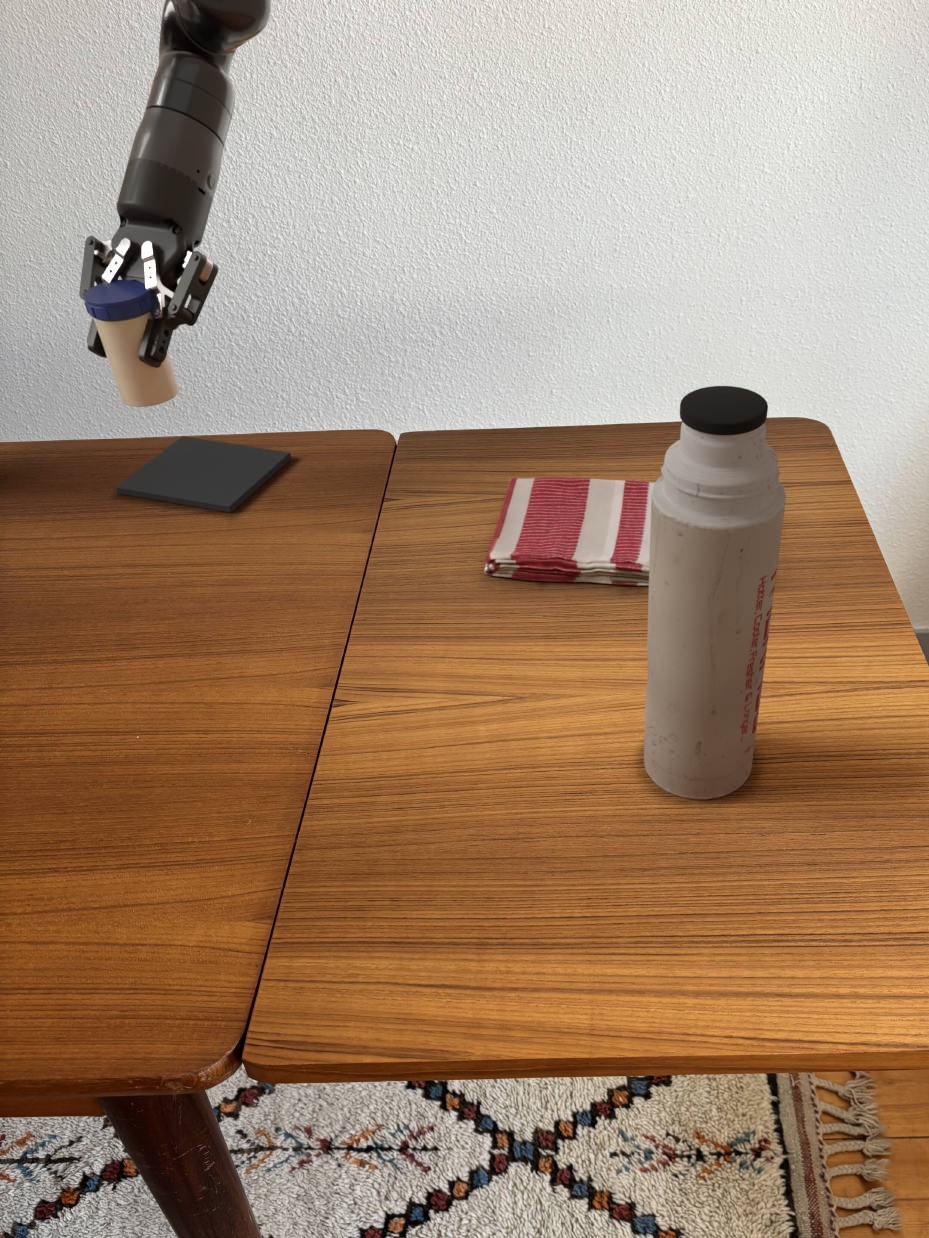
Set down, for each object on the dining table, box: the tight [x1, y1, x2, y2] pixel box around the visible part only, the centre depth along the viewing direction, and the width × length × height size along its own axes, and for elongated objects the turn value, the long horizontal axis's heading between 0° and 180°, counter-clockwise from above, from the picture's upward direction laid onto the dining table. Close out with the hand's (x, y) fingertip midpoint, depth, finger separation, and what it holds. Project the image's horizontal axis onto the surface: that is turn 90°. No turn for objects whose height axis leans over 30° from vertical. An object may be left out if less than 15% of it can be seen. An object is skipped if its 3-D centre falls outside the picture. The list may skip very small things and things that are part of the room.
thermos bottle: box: [643, 385, 787, 800], centre depth 68 cm, size 8×8×28 cm
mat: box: [115, 435, 292, 514], centre depth 112 cm, size 14×12×1 cm
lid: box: [83, 278, 153, 320], centre depth 94 cm, size 6×6×2 cm
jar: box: [92, 310, 180, 408], centre depth 97 cm, size 5×5×9 cm
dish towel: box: [483, 476, 656, 587], centre depth 100 cm, size 17×23×3 cm
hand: (123, 358), depth 96 cm, fingers closed on jar, 5 cm apart
